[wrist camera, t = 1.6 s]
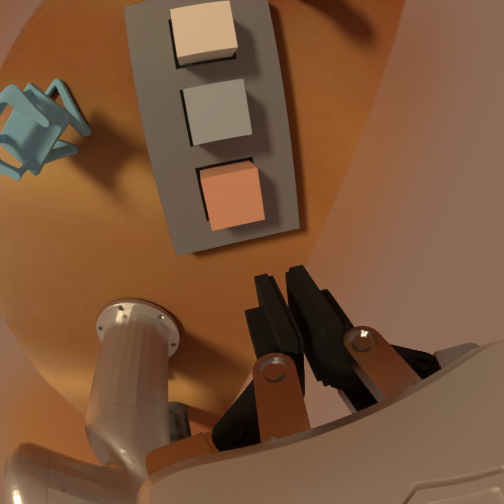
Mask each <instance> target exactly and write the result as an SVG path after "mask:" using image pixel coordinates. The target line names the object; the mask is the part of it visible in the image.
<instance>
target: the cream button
mask: <svg viewBox="0 0 504 504" xmlns="http://www.w3.org/2000/svg"><path fill="white" fill-rule="evenodd" d="M170 12H171V19H172V26H173V33H174V39H175V46H176V52H177V58H178V61H179V65H180V66H181V65H186V64H191V63H196V62H201V61H207V60H213V59H219V58H226V57H232V55H233V54H234V52H235V51H236V49H237V48H238V45H237V40H236V34H235V29H234V23H233V18H232V12H231V7H230V1H219V2H211V3H203V4H197V5H191V6H185V7H180V8H175V9H170Z"/></svg>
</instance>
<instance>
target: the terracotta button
mask: <svg viewBox="0 0 504 504" xmlns="http://www.w3.org/2000/svg"><path fill="white" fill-rule="evenodd" d="M200 178H201V183H202V188H203V193H204V197H205V202H206V206H207V211H208V215H209V219H210V224H211V228H212V231H215V230H219V229H224V228H228V227H233V226H237V225H242V224H246V223H251V222H255V221H260V220H265V216H264V209H263V202H262V195H261V189H260V182H259V175H258V168H257V167H256V166H255V165H254V164H252V163H251V162H250V161H243V162H238V163H233V164H228V165H223V166H218V167H214V168H209V169H204V170H200Z"/></svg>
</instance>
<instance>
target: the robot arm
mask: <svg viewBox="0 0 504 504" xmlns="http://www.w3.org/2000/svg"><path fill="white" fill-rule="evenodd" d="M285 275H286V285H287V296H288V306H289V308H288V306H287V304H286V302H285V300H284V297H283V295H282V293H281V291H280V289H279V287H278V285H277V283H276V281H275V279H274V277H273V276H268V274H263V275H258V276H254V279H255V285H256V290H257V296H258V302H259V307H257V308H253V309H249V310H245V315H246V320H247V324H248V328H249V332H250V336H251V340H252V344H253V347H254V351H255V354H256V357H257V361H256V362H255V364H254V366H253V380H252V381H251V383H250V384H249V385H248V386H247V388H246V389H245V390H244V392H243V393H242V394H241V395H240V396H239V398H238V399H237V400H236V401H235V403H234V404H233V405H232V406H231V407H230V409H229V410H228V411H227V412H226V413H225V415H224V416H223V417H222V418H221V419H220V420H219V422H218V423H217V424H216V425H215V427H214V429H213V430H211V431H209V432H206V433H204V434H203V432H200V433H198V434H195V435H193V436H190V437H187V438H185V439H182V440H179V441H176V442H174V443H171V444H170V438H169V411H168V358H169V357H171V356H172V355H173V354H174V353H175V352H176V350H177V348H178V346H179V341H180V334H179V328H178V326H177V324H176V322H175V320H174V319H173V318H172V316H171V315H170V314H169V313H167V312H166V311H165V310H164V309H162V308H161V307H159V306H157V305H155V304H153V303H150V302H147V301H144V300H138V299H123V300H118V301H115V302H112V303H110V304H109V305H107V306H106V307H105V308H104V309H103V310H102V311H101V313H100V315H99V317H98V320H97V325H96V330H97V335H98V337H99V340H100V341H101V343H102V344H101V348H100V352H99V356H98V360H97V364H96V368H95V373H94V377H93V382H92V386H91V391H90V396H89V402H88V407H87V413H86V419H85V430H86V435H87V439H88V441H89V443H90V446H91V448H92V450H93V452H94V453H95V455H96V456H97V458H98V460H99V461H100V463H101V464H102V466H98V465H93V464H90V463H86V462H84V461H80V460H78V459H75V458H72V457H69V456H66V455H64V454H61V453H59V452H56V451H53V450H51V449H48V448H46V447H43V446H40V445H38V444H35V443H31V442H19V443H16V444H15V445H14V446H13V447H12V448H11V449H10V451H9V452H8V455H7V458H6V463H5V468H4V490H5V500H6V504H504V341H495V342H490V343H487V344H484V345H482V346H478V345H477V344H474V343H466V344H462V345H459V346H455V347H452V348H448V349H444V350H440V351H437V352H435V353H434V354H433V355H431V354H429V353H426V352H422V351H417V350H412V349H408V348H403V347H400V346H395V345H391V344H389V343H388V342H387V341H386V340H385V339H384V338H383V337H382V336H381V335H380V334H379V333H378V332H377V331H376V330H375V329H373V328H370V327H366V326H358V327H354V326H353V324H352V323H351V322H350V320H349V319H348V317H347V316H346V314H345V313H344V312H343V310H342V309H341V307H340V306H339V304H338V303H337V302H336V300H335V299H334V297H333V296H332V295H331V293H330V292H329V291H328V290H327V289H324V290H321V291H320V290H319V288H318V287H317V285H316V284H315V283H314V281H313V280H312V278H311V277H310V275H309V274H308V272H307V271H306V269H305V268H304V266H303V265H299V266H295V267H291V268H289V272H286V273H285ZM304 353H305V356H306V358H307V360H308V362H309V364H310V367H311V369H312V371H313V373H314V375H315V377H316V379H317V381H321V380H322V383H323V385H324V386H328V385H330V386H331V387H333V388H336V389H337V390H338V393H339V395H340V396H341V398H342V399H343V401H344V402H345V404H346V405H347V407H348V408H349V410H350V411H351V413H352V414H351V415H348V416H346V417H343V418H341V419H338V420H335V421H333V422H330V423H327V424H325V425H322V426H319V427H316V428H313V429H311V427H310V423H309V418H308V414H307V410H306V406H305V402H304V396H305V372H304Z"/></svg>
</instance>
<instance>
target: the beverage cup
mask: <svg viewBox="0 0 504 504" xmlns="http://www.w3.org/2000/svg"><path fill="white" fill-rule="evenodd" d="M168 411H169V438H170V444H171V443H174V442H176V441H179V440H182V439H185V438H187V437H190V436H191V431H190V426H189V420H188V415H187V411H186V406H185V405H184V404H182V403H179V402H169V403H168Z"/></svg>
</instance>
